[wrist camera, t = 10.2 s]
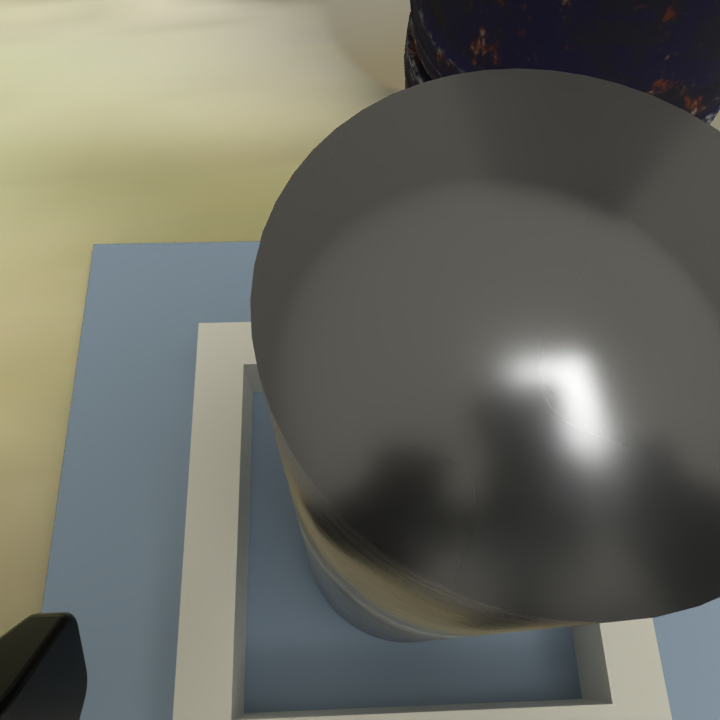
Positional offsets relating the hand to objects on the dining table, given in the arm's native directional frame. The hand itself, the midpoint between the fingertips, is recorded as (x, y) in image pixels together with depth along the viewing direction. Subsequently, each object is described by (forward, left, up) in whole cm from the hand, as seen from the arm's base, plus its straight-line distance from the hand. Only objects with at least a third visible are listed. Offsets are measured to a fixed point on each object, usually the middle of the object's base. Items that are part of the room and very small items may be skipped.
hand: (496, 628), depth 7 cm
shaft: (+2, +2, -10) cm, 10 cm away
